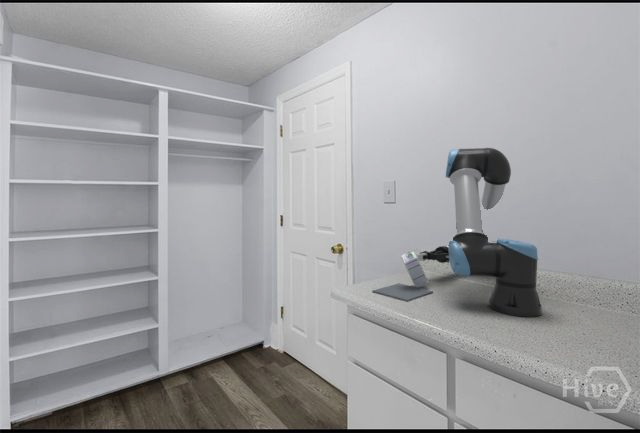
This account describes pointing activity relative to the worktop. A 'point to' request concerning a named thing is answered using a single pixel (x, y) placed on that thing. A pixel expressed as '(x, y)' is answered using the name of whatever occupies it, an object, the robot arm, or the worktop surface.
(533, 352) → the worktop surface
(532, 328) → the worktop surface
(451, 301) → the worktop surface
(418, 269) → the syrup box
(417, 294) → the mat
